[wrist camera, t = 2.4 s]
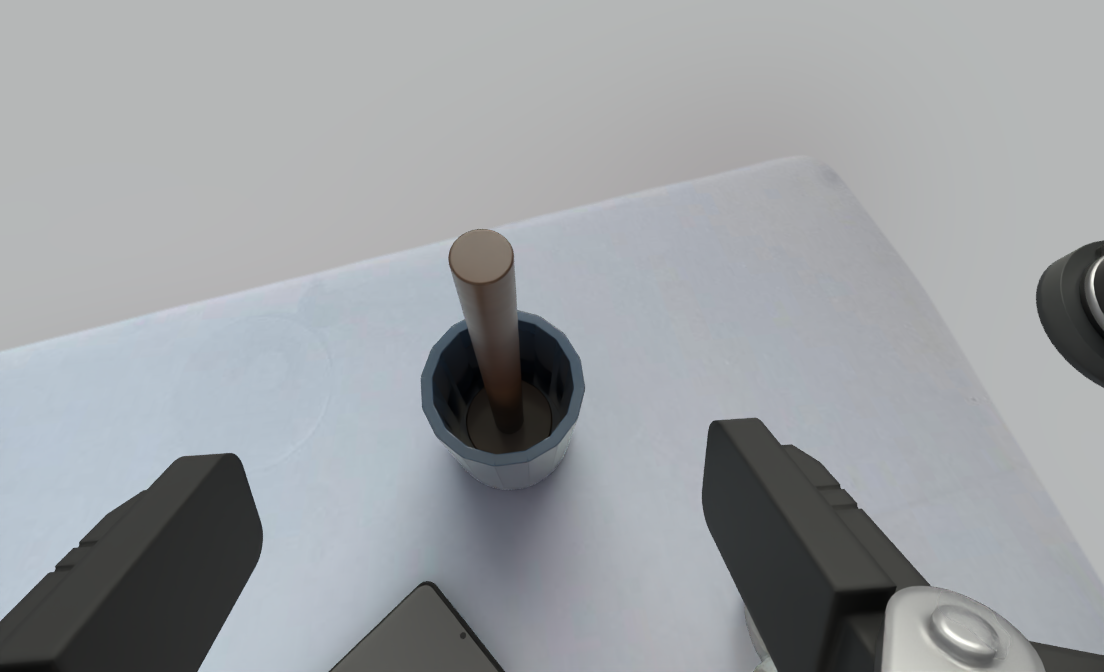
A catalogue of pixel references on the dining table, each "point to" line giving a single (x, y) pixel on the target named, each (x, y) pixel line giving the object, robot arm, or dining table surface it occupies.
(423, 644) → the smartphone
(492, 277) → the brown wooden plunger
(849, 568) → the robot arm
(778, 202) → the dining table surface
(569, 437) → the crock
